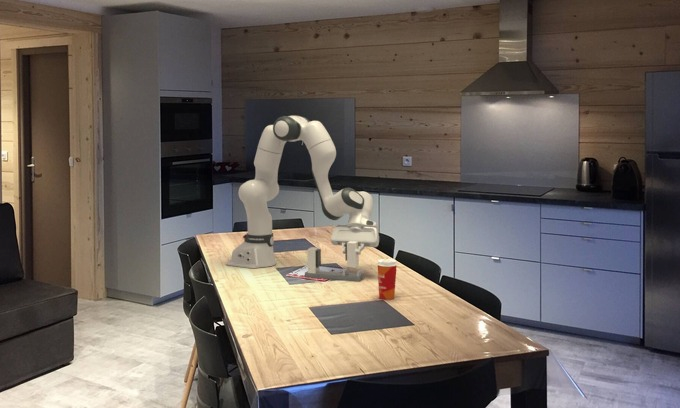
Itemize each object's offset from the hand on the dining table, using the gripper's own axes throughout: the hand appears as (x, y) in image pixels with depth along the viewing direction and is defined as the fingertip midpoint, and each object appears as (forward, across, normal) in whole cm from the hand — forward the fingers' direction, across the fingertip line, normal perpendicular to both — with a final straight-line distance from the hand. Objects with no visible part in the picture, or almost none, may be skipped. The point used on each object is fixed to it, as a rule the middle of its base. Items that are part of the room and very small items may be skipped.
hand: (351, 253), depth 274 cm
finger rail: (+7, -8, +8) cm, 13 cm away
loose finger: (+3, 0, +4) cm, 5 cm away
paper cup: (+24, +20, -8) cm, 32 cm away
